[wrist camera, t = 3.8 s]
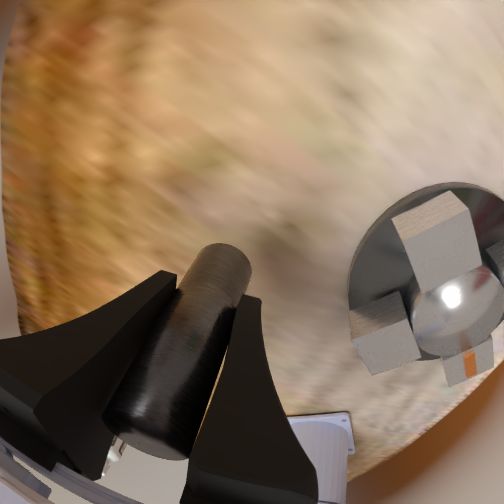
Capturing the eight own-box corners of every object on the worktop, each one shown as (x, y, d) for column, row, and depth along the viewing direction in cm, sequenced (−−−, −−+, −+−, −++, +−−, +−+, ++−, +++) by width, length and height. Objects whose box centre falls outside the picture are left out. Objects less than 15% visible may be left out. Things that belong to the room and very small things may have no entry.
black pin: (259, 287, 14) (206, 464, 7) (208, 295, 14) (134, 453, 7) (240, 237, 13) (158, 416, 6) (187, 249, 13) (84, 405, 6)
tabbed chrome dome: (512, 158, 12) (539, 173, 10) (531, 316, 16) (545, 341, 14) (315, 253, 17) (314, 282, 15) (387, 381, 21) (390, 410, 19)
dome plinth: (508, 329, 19) (512, 337, 18) (359, 364, 23) (359, 373, 22) (526, 168, 13) (535, 173, 12) (328, 205, 17) (329, 212, 16)
